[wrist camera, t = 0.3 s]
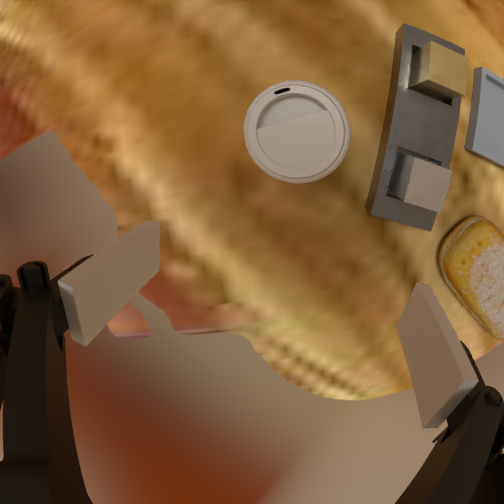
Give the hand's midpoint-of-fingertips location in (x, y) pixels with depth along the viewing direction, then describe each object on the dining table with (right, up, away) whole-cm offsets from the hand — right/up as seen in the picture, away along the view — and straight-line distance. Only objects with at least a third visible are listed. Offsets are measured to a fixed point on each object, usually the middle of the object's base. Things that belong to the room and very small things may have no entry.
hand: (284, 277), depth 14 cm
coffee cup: (+5, +17, +22) cm, 28 cm away
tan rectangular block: (+21, +24, +14) cm, 35 cm away
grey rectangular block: (+19, +11, +20) cm, 30 cm away
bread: (+38, -3, +23) cm, 45 cm away
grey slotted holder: (+20, +18, +18) cm, 32 cm away
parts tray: (+36, +20, +14) cm, 43 cm away
